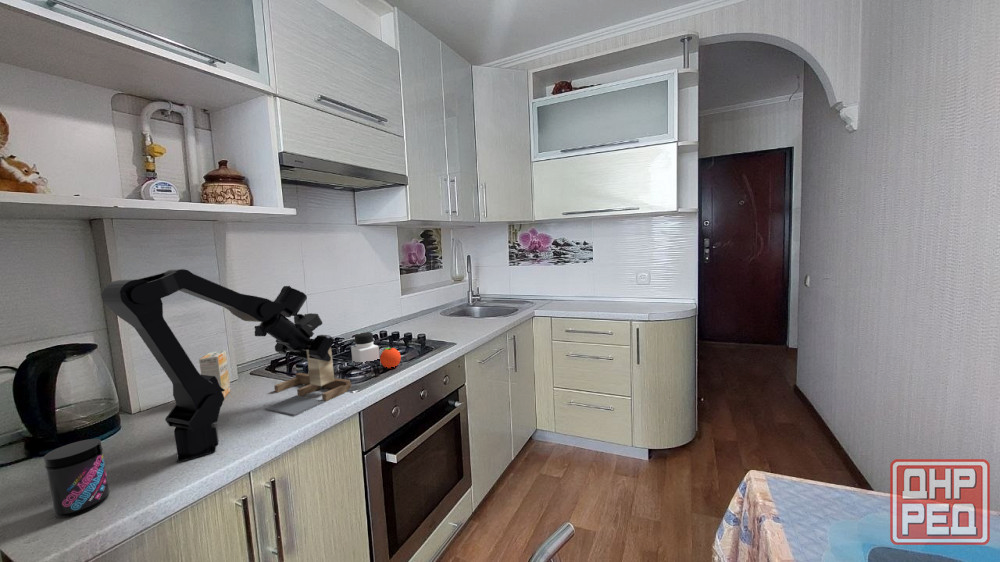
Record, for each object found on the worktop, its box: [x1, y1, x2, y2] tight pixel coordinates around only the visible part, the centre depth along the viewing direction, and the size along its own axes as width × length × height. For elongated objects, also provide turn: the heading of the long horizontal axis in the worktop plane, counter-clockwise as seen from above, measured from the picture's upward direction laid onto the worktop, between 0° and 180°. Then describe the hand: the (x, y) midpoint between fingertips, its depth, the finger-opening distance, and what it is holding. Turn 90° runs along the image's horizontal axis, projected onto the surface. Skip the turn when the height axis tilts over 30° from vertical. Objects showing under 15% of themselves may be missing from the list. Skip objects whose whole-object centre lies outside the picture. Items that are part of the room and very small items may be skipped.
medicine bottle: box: [350, 331, 381, 362], centre depth 138 cm, size 7×7×12 cm
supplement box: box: [198, 350, 231, 399], centre depth 116 cm, size 8×5×13 cm, turn 22°
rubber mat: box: [265, 394, 326, 417], centre depth 106 cm, size 9×12×1 cm
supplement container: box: [43, 438, 111, 518], centre depth 67 cm, size 7×7×10 cm
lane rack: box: [274, 372, 353, 402], centre depth 117 cm, size 9×22×3 cm, turn 63°
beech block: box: [306, 346, 335, 386], centre depth 113 cm, size 5×5×10 cm
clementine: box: [380, 347, 402, 369], centre depth 135 cm, size 8×7×7 cm
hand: (324, 359), depth 115 cm, fingers closed on beech block, 5 cm apart
